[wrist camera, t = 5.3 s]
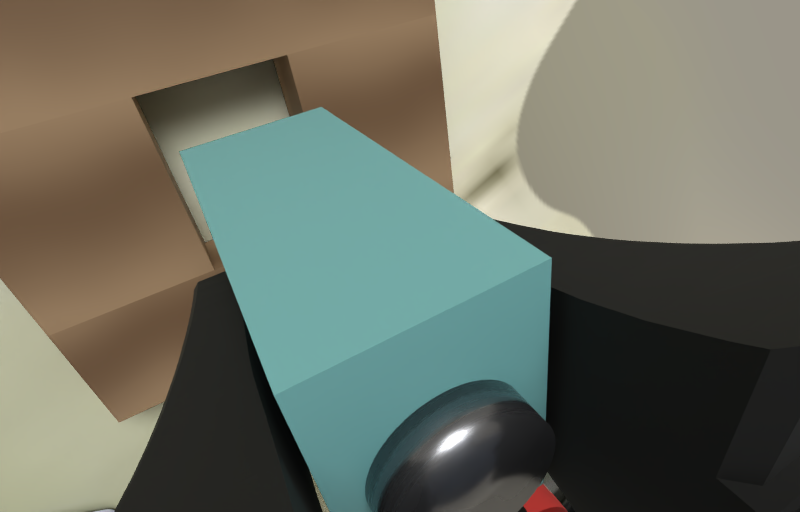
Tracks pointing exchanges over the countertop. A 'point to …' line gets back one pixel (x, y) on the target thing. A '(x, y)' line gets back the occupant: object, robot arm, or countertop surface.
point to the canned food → (542, 502)
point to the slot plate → (145, 164)
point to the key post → (383, 318)
